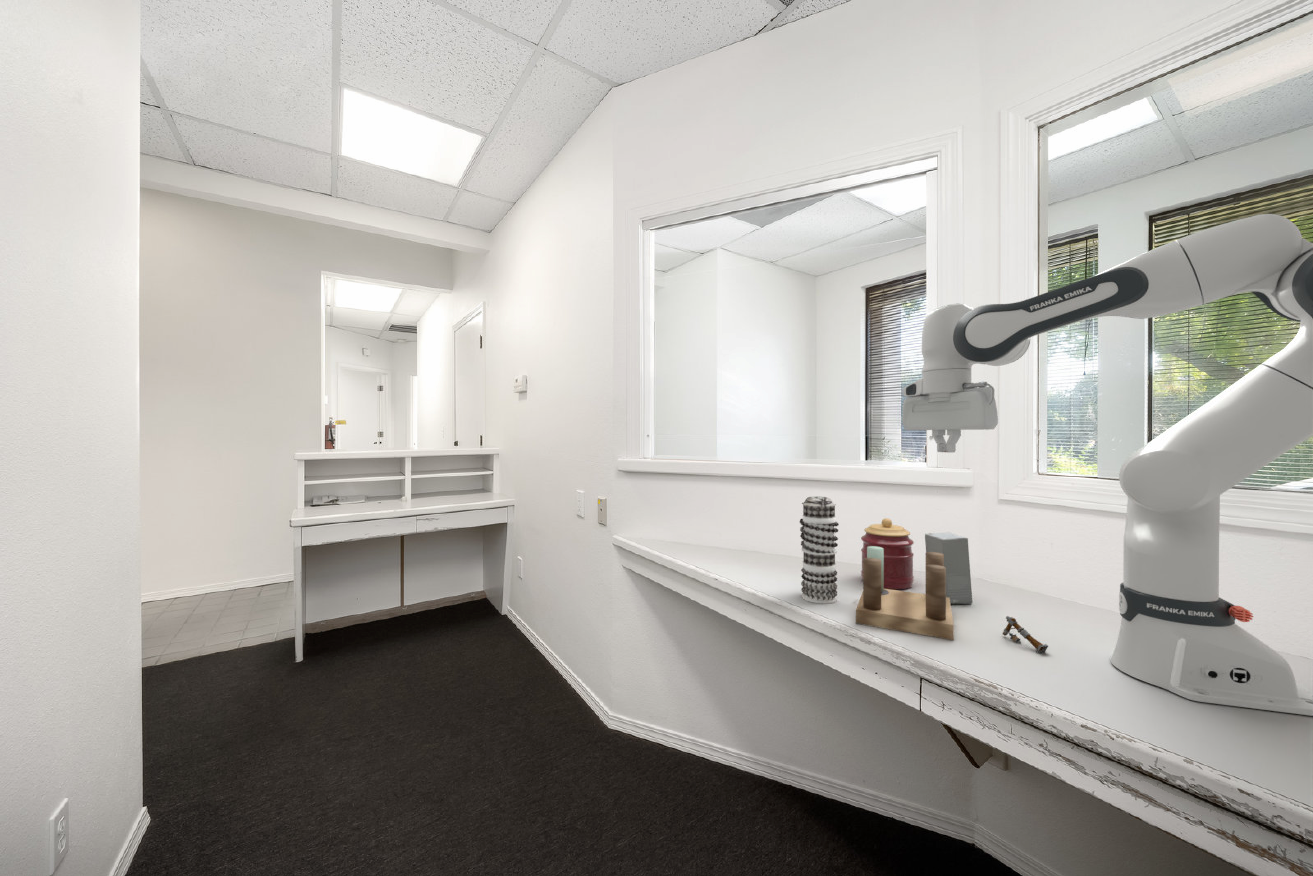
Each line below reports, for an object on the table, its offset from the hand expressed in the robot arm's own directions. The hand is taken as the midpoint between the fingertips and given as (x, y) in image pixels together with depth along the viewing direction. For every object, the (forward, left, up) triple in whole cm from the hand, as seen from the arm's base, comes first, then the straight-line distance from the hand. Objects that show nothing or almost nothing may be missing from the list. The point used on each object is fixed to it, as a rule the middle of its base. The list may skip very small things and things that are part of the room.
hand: (946, 452), depth 100 cm
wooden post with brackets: (-13, +1, -37) cm, 39 cm away
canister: (+13, -29, -37) cm, 49 cm away
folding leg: (+14, -7, -34) cm, 37 cm away
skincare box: (-1, -22, -37) cm, 43 cm away
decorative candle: (+27, -8, -37) cm, 47 cm away
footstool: (+8, -4, -37) cm, 38 cm away
